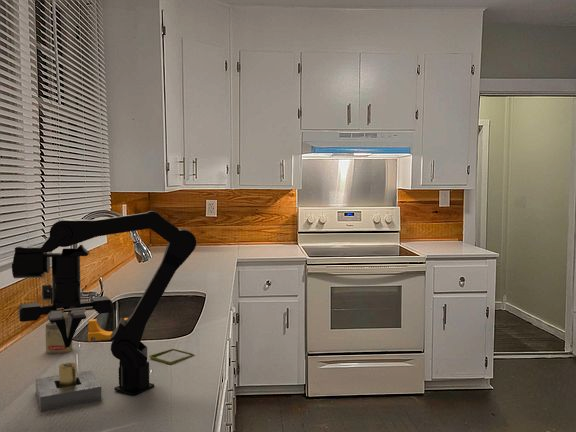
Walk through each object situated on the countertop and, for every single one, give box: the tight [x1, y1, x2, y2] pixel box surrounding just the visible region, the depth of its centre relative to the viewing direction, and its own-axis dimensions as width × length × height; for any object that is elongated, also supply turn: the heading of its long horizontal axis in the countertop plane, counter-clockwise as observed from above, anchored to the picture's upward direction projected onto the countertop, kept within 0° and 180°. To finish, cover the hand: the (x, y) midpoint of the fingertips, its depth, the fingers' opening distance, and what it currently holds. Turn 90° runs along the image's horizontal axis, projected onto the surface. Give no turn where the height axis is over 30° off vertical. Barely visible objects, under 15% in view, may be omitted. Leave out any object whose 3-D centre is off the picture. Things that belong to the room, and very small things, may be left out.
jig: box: [35, 369, 102, 412], centre depth 116 cm, size 12×12×3 cm
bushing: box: [58, 362, 77, 388], centre depth 116 cm, size 4×4×7 cm
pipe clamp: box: [87, 317, 129, 342], centre depth 160 cm, size 12×4×6 cm, turn 101°
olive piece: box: [149, 348, 195, 365], centre depth 141 cm, size 9×9×2 cm
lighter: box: [45, 315, 73, 354], centre depth 148 cm, size 7×4×10 cm, turn 99°
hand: (67, 347), depth 116 cm, fingers closed
